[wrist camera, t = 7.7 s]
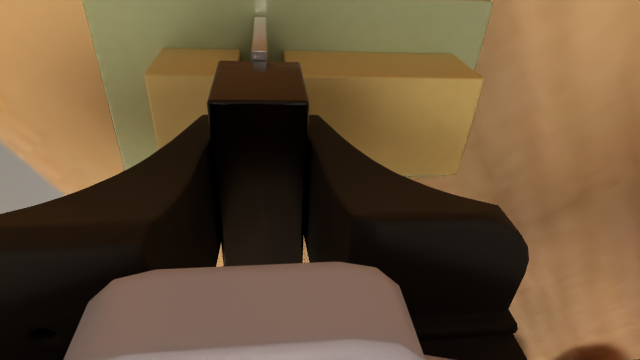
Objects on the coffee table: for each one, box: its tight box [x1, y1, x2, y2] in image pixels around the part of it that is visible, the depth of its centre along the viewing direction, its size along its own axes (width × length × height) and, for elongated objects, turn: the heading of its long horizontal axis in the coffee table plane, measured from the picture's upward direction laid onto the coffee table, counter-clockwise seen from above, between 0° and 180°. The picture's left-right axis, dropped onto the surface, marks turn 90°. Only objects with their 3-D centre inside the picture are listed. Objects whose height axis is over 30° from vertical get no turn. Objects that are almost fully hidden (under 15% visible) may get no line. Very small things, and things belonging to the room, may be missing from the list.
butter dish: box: [82, 0, 493, 177], centre depth 15 cm, size 7×13×1 cm, turn 87°
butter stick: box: [283, 50, 484, 175], centre depth 14 cm, size 4×6×2 cm, turn 87°
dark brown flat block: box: [207, 17, 309, 267], centre depth 12 cm, size 6×2×6 cm, turn 177°
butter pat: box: [144, 48, 241, 150], centre depth 13 cm, size 4×2×2 cm
